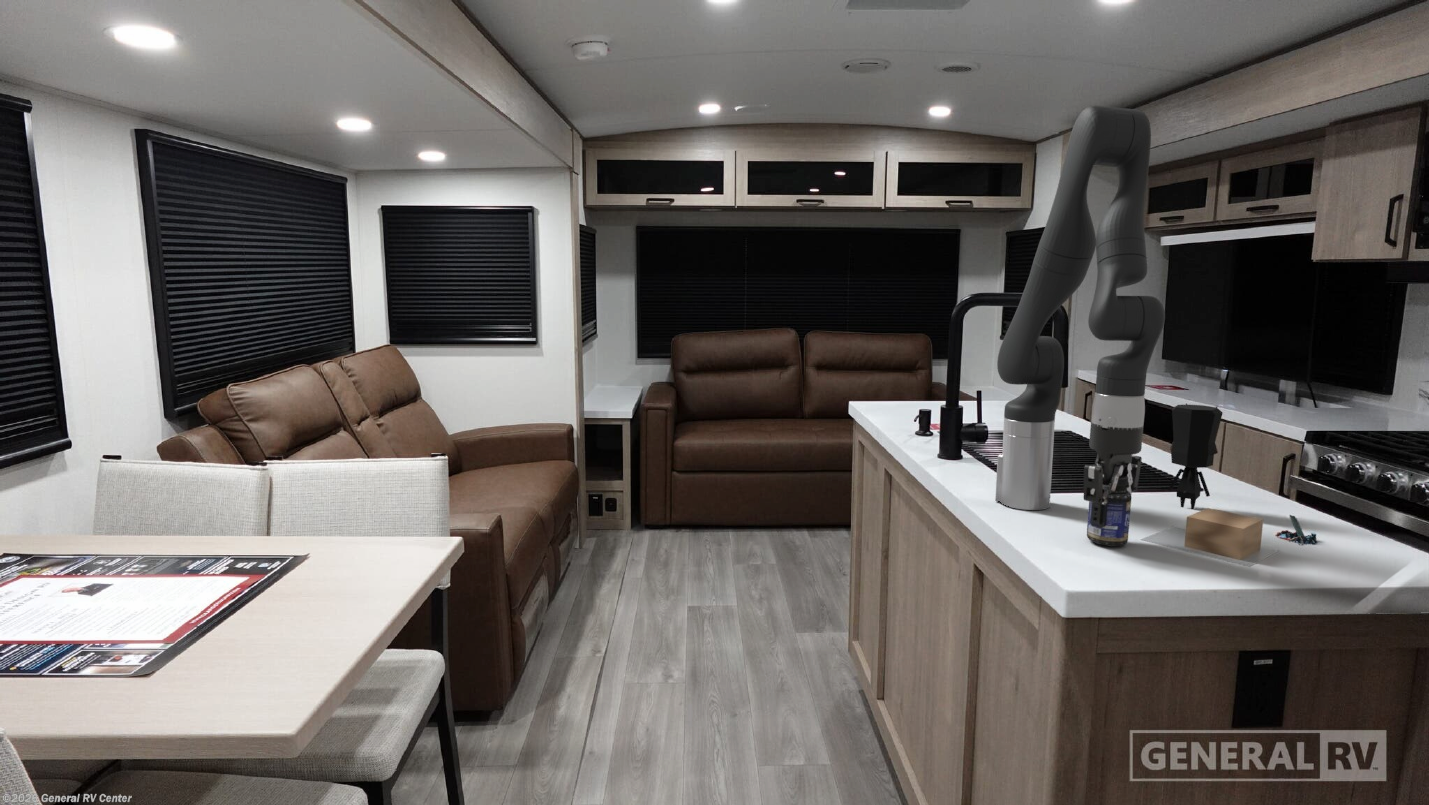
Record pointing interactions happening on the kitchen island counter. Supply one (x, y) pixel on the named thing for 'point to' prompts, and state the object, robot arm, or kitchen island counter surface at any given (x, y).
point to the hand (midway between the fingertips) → (1108, 522)
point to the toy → (1193, 447)
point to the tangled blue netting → (1297, 534)
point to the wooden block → (1223, 533)
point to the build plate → (1176, 540)
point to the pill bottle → (1113, 517)
